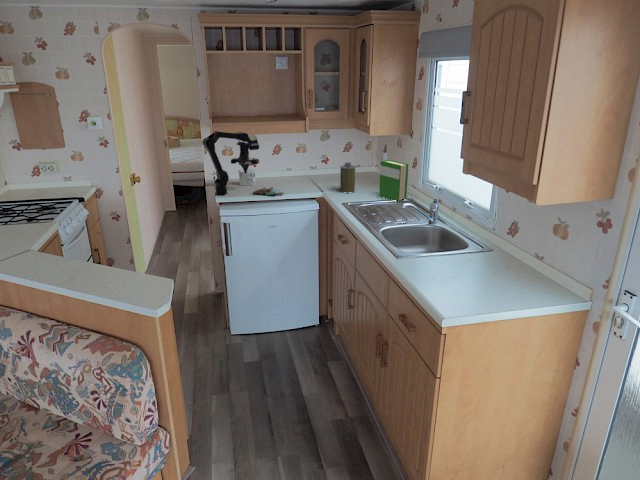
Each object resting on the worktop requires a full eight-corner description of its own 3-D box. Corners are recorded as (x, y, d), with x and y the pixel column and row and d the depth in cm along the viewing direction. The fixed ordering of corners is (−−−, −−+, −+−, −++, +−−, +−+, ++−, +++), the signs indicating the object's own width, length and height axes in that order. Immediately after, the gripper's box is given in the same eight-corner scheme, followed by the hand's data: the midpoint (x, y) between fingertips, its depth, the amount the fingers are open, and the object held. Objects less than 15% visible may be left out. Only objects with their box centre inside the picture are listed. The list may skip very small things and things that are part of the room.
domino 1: (252, 192, 315) (262, 189, 312) (256, 190, 319) (265, 187, 316) (253, 194, 315) (263, 191, 312) (256, 192, 320) (266, 189, 316)
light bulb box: (256, 183, 343) (255, 169, 339) (253, 185, 337) (253, 171, 333) (241, 183, 344) (240, 169, 340) (239, 185, 338) (238, 171, 334)
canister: (344, 188, 328) (344, 160, 321) (357, 190, 323) (358, 162, 316) (337, 192, 319) (337, 163, 312) (350, 194, 314) (350, 165, 307)
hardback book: (406, 200, 299) (408, 163, 291) (397, 202, 295) (400, 165, 287) (387, 194, 313) (388, 159, 304) (379, 196, 309) (380, 160, 300)
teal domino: (265, 192, 312) (275, 191, 308) (269, 190, 316) (279, 189, 312) (266, 194, 313) (275, 193, 308) (270, 192, 317) (279, 191, 312)
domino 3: (270, 193, 313) (281, 194, 311) (272, 191, 317) (283, 192, 316) (270, 196, 313) (281, 196, 312) (272, 194, 318) (283, 194, 316)
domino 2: (260, 192, 314) (268, 188, 310) (264, 190, 318) (272, 186, 314) (261, 194, 314) (269, 190, 310) (265, 192, 318) (273, 188, 314)
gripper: (227, 152, 310) (229, 175, 316) (253, 153, 307) (255, 176, 313) (232, 149, 320) (234, 172, 326) (258, 150, 318) (259, 172, 323)
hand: (245, 173), depth 322 cm, fingers closed
